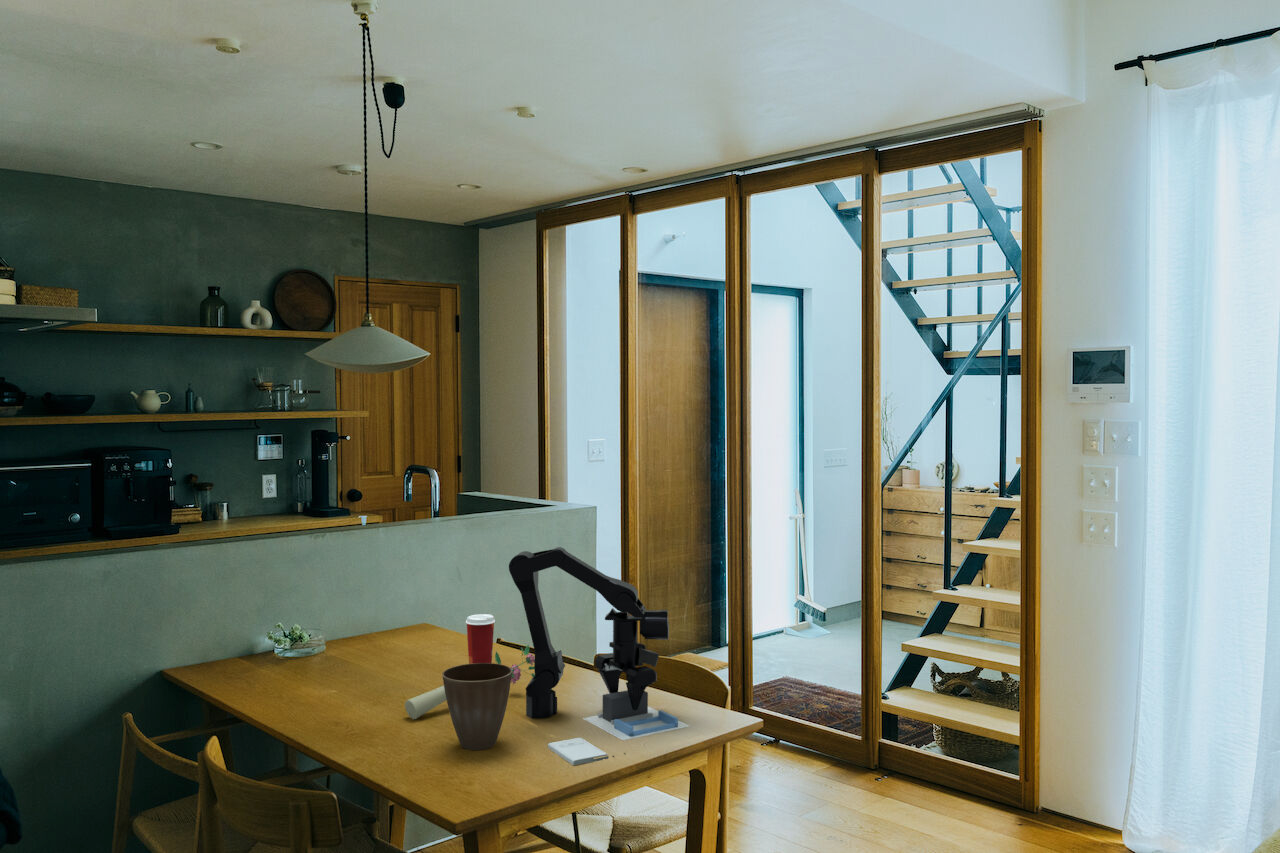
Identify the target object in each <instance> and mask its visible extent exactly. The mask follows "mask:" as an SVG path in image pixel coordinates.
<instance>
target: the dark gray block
mask: <svg viewBox="0 0 1280 853" xmlns="http://www.w3.org/2000/svg"><path fill="white" fill-rule="evenodd" d="M648 701H649V693H648V691H646V690H644V693H643V695H642V698H641V701H640V704H639V707H638V710H633V708H632V705H631V701H630V697H629V693H628V690H621V691H618V692H616V693H606V694H602V713H603V719H605V720H607V721H609V722H611V720H614V719H621V718H626V717H631V716H636V715H641V714H646V713H648V707H649V704H648V703H649V702H648Z"/></svg>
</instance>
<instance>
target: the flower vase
mask: <svg viewBox="0 0 1280 853" xmlns="http://www.w3.org/2000/svg"><path fill="white" fill-rule="evenodd" d="M520 650H521V653H522V654H521V656H522V657H521V658H522V660H521V663H520V664H516V663H514V664H512V665H511V666H510V668H511V669H512V676H511V684H512V685H515V684H517V682H518V681H520V679H521V676H522V674H521V672H522V671H523V672H524V673H526V671H527V670H529V671H531V670H534V659H535V655H534V654H532V653H530V646H529V644H527V646H526V647H525V648H524V649H523V647H520ZM525 656H526V657H525ZM494 657H495V659H494V660H495V664H501V665H502V659H501V657H500V654H499V653H498V651H495V654H494ZM524 659H525V661H523V660H524ZM525 663H526V664H527V665H530V666H528V667H527V668H528V669H524V670H523V669H521V668H520V667H519V666H521V665H523V664H525ZM532 665H533V666H532ZM527 674H528V675H531V677H532V678H533V677H534V676H535V673H529V672H527ZM445 701H446V702H447V699H446V695H445V689H444V684H443V685H442V686H439V687H437V688H434V689H431V690H430V691H427V692H424V693H422V694H420V695H417V696H415V697H412V698H409V699H406V701H405V703H404V707H405V711H406V713H407V716H408V717H409V718H410V719H411V718H412V719H411V720H414V719H415V720H417V719H418V718H420V717H422V716H423V715H425V714H427V713H428V712H429V711H432V709H434V708H436V707H437V706H439V705H440V704H442V703H443V702H445Z"/></svg>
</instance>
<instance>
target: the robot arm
mask: <svg viewBox="0 0 1280 853" xmlns="http://www.w3.org/2000/svg"><path fill="white" fill-rule="evenodd" d="M553 567H557V568H559V569H561V570H562V571H564V572H565V573H567V574H569V575H570V576H572V577H574V578H575V579H577V580H578V581H580V582H582V583H583V584H585V585H587V586H589V587H590V588H592V589H593V590H595V591H597V592H598V594H600V596H602V598H604V599H605V600H606V602H608V603H609V605H611V606H612V608H611V610H610V611H609V612H608V613H606V615H605V617H604V620H605V621H612V632H613V633H612V641H610V642H608V643H609V647H610V648H612V652H611V653H604V654H599V655H597V656H596V658H595V659H594V667H595V669H597V673H599V674H600V676H601V678H602V680H603V682H604V684H605V686H606V689H607V692H608V694H610V693H616V692H619V686H620V676H621V675H622V673H625V678H626V682H625V685H626V689H627V690H628V693H629V697H630V701H631V705H632V708H633V710H638V707H639V704H640V701H641V698H642V695H643V693H644V691H646V688H647V687H648V686H650V685H653V683H655V682H656V683H657V680H658V675H657V674H658V672H657V671H656V670H655V669H654V668H656V666H657V664H658V660H659V657H660V654H659V653H657V652H654V651H653V650H649V649H647V648H646V645H645V644H643V643H641V642H638V622H639V635H640V636H641V637H644V640H667V641H669V637H670V636H669V635H670V621H669V611H668V609H660V610H654V609H653V610H648V609H647V608H646V607H645V605H644V603H643V602H642V600H640V598H639V592H638V590H637V587H635V586H634V585H633V584H631V583H629V582H626V581H624V580H621V579H618V578H614V577H611V576H608V575H606V574H605V573H603V572H601V571H599V570H598V569H596V568H594V567H593V566H591V565H590V564H588V563H586V562H585V561H583V560H581V559H580V558H579V557H576V556H575V555H574V554H572V553H570V552H569V551H567V549H565V548H564V547H562V546H560V547H559V546H558V547H554V548H552V549H548V550H541V551H537V552H533V553H532V551H527V550H526V551H521V552H519V553H517V554H516V555H514V557H513V558H512V559H511V560H510V561H509V563H508V570H509V574H510V576H511V578H512V581H513V584H515V586H516V588H517V589H518V591H519V593H520V596H521V599H522V604H523V608H524V612H525V613H524V614H525V616H526V620H527V624H528V628H529V629H528V630H529V633H530V637H531V641H532V646H533V649H534V663H533V667H534V669H533V670H534V675H535V676H534V677H532V678H531V679H530V681H529V683H528V684H527V686H526V687H525V697H526V698H525V699H526V700H525V712H526V713H525V715H526V716H527V717H528V718H529V719H531V720H535V719H536V720H537V719H539V720H542V719H549V718H551V717H553V716H555V715H557V714H558V697H557V695H556V694H557V693H556V690H554V688H555V687H557V685H558V684H559V682H560V681H561V678H562V676H563V675H564V669H565V667H566V664H565V663H564V660H563V652H562V650H561V649H560V650H557V651H556V650H555V648H554V647H553V645H552V641H551V636H550V633H549V628H548V623H547V620H546V615H545V611H544V608H543V604H542V603H543V602H542V599H541V595H540V591H539V590H540V589H539V572H540V571H543V570H546V569H550V568H553ZM616 610H617V611H616ZM644 664H646V665H649V666H651V667H653V668H651V667H648V666H646V665H644ZM627 690H626V691H627Z"/></svg>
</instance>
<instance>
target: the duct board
mask: <svg viewBox="0 0 1280 853" xmlns="http://www.w3.org/2000/svg"><path fill="white" fill-rule="evenodd" d="M582 719H583V720H584V721H586V722H588V723H590V724H592V725H593V726H596V727H597V728H599V729H601V730H603V731H604V732H607V733H608V734H611V735H612V736H614V737H616V738H618V739H619V740H621V741H628V740H633V739H637V738H642V737H646V736H651V735H656V734H659V733H666V732H670V731H675V730H678V729H679V730H680V729H684V728H687V727H690V725H689V724H687V723H685V722H682V721H680V720H679V718H678V717H676V716H675V715H672V714H670V713H668V712H666V711H664V710H662V709H661V710H660V709H659V710H657V709H655V708H653V707H650V706H648V713H646V714H641V715H636V716H631V717H626V718H621V719H614V720H611V722H609V721H607V720H605V719H603V712H599V713H598V712H597V715H593V716H587V717H582Z"/></svg>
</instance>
